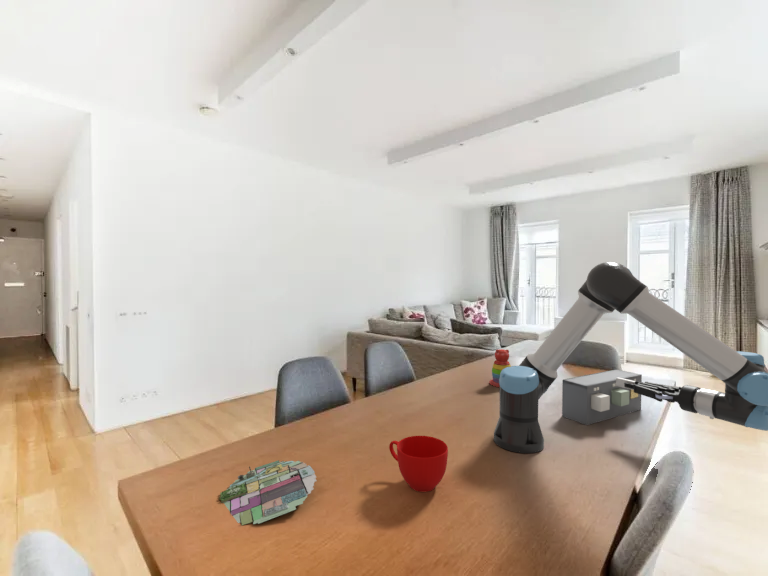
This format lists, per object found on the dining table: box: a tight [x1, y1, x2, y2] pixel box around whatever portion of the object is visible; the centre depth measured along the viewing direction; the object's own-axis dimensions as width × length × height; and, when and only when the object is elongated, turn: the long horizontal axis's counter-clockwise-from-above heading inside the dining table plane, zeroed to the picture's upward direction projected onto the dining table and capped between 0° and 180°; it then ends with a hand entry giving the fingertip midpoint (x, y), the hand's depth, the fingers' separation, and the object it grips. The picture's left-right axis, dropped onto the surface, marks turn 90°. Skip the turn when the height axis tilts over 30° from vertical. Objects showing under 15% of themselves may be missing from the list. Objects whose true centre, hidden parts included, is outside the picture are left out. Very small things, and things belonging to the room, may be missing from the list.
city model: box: [218, 460, 318, 526], centre depth 92 cm, size 25×24×6 cm
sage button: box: [611, 388, 629, 406], centre depth 142 cm, size 6×5×5 cm
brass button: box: [630, 389, 638, 399], centre depth 150 cm, size 6×5×5 cm
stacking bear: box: [489, 348, 512, 388], centre depth 184 cm, size 11×10×18 cm
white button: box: [591, 393, 610, 412], centre depth 136 cm, size 6×5×5 cm
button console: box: [561, 368, 643, 426], centre depth 147 cm, size 10×34×14 cm, turn 118°
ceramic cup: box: [388, 435, 449, 493], centre depth 98 cm, size 13×17×10 cm
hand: (617, 381), depth 130 cm, fingers closed
